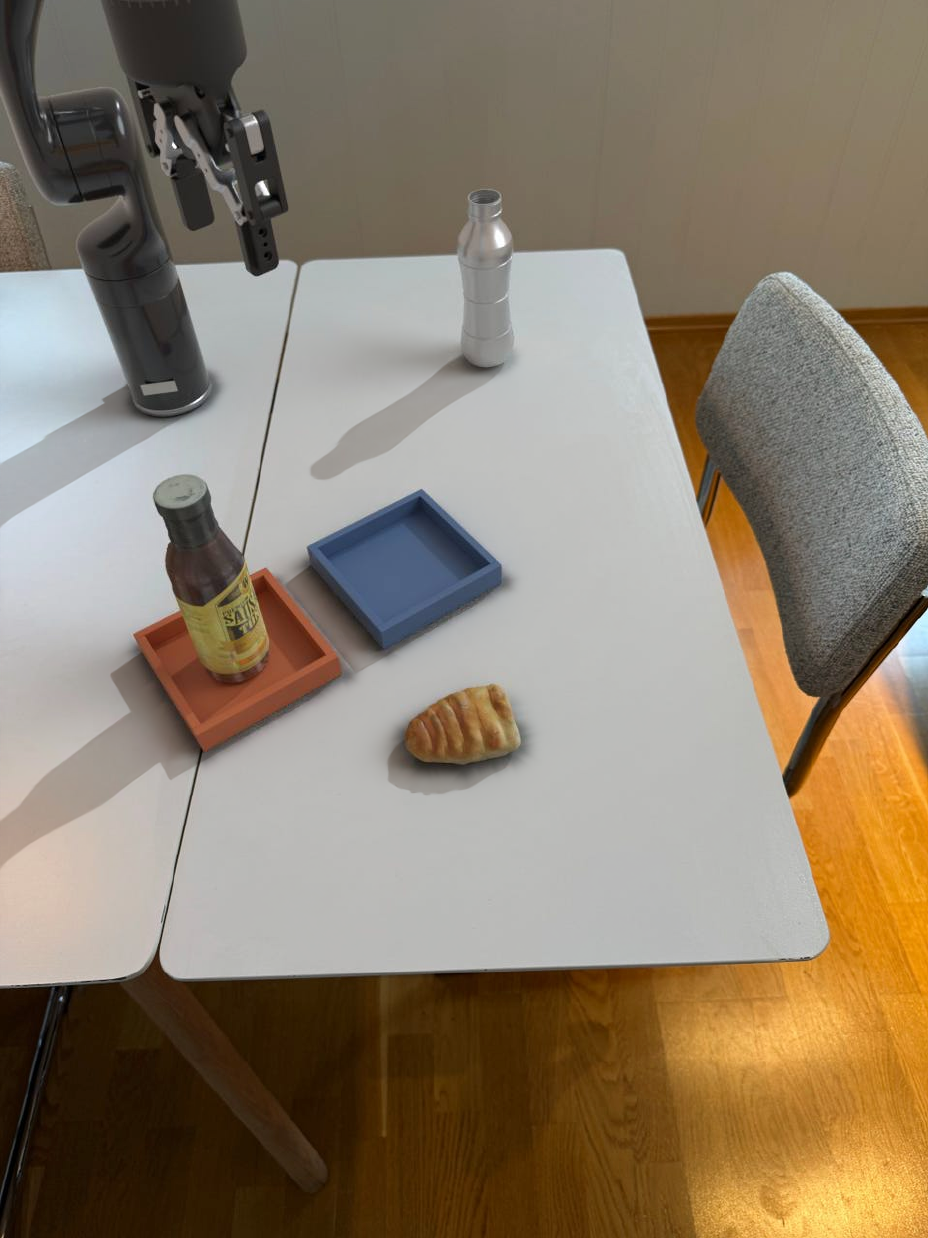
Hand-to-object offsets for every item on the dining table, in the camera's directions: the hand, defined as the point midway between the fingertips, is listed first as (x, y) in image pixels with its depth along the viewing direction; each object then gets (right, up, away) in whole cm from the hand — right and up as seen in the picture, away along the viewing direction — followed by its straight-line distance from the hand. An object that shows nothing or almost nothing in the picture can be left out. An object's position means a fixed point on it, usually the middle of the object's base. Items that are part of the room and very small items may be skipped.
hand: (230, 247), depth 63 cm
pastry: (+17, -36, +13) cm, 42 cm away
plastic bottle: (+19, +6, +48) cm, 52 cm away
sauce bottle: (-4, -30, +19) cm, 35 cm away
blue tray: (+11, -22, +25) cm, 35 cm away
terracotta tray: (-4, -30, +19) cm, 36 cm away
